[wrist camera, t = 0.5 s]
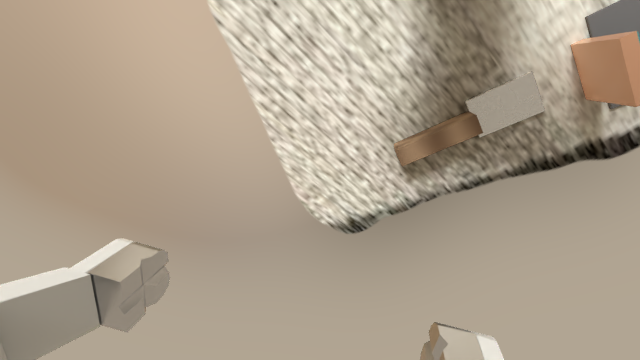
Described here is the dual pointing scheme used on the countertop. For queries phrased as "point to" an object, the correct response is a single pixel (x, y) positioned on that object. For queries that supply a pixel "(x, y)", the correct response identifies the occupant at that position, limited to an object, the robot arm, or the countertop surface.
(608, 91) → the tile
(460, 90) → the countertop surface
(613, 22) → the mat
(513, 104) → the turner
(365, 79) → the countertop surface
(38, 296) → the robot arm
